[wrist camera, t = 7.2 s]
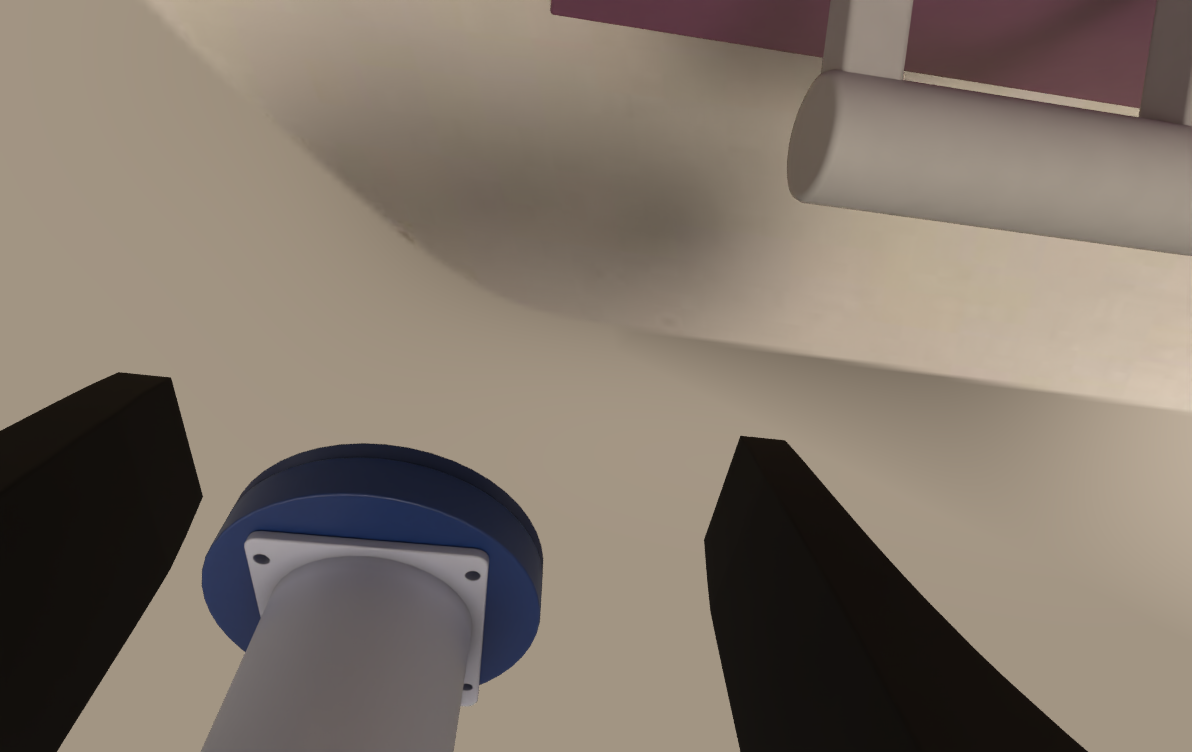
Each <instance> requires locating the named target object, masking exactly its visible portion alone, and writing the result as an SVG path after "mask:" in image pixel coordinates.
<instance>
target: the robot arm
mask: <svg viewBox="0 0 1192 752" xmlns="http://www.w3.org/2000/svg"><path fill="white" fill-rule="evenodd" d="M202 497H203V496H202V492H201V488H200V484H199V480H198V477H197V473H196V469H195V466H194V462H193V458H192V454H191V451H190V447H189V443H188V439H187V436H186V432H185V428H184V424H183V421H182V417H181V413H180V410H179V406H178V402H177V398H176V395H175V391H174V387H173V383H172V380H171V378H169V377H160V376H159V377H158V376H150V375H140V374H130V373H120V372H118V373H116V374H114V375H111V376H109V377H107V378H105V379H103V380H100V381H98V382H96V383H94V384H92V385H89V386H87V387H85V388H83V389H81V390H80V391H77V392H75V393H73V394H71V395H69V396H67V397H65V398H63V399H62V400H60V401H57V402H55V403H54V404H51V405H49V406H48V407H46V408H44V409H42V410H40V411H38V412H36V413H34V414H32V415H30V416H28V417H26V418H24V419H23V420H21V421H19V422H17V423H15V424H13V425H11V426H9V427H7V428H5V429H3V430H1V431H0V752H57V751H58V749H59V747H60V746H61V744H62V742H63V741H64V739H65V738H66V736H67V734H68V733H69V731H70V730H71V728H72V726H73V725H74V723H75V722H76V720H77V719H78V717H79V715H80V714H81V712H82V710H83V709H84V707H85V706H86V704H87V703H88V701H89V699H90V698H91V696H92V695H93V693H94V691H95V690H96V688H97V686H98V685H99V684H100V682H101V680H102V679H103V677H104V676H105V674H106V672H107V671H108V669H109V668H110V666H111V664H112V663H113V661H114V660H115V658H116V656H117V655H118V653H119V652H120V650H121V648H122V647H123V645H124V644H125V642H126V641H127V639H128V637H129V636H130V634H131V633H132V631H133V629H134V628H135V626H136V624H137V623H138V621H139V620H140V618H141V616H142V615H143V613H144V612H145V610H146V608H147V607H148V605H149V603H150V602H151V600H152V599H153V597H154V595H155V594H156V592H157V590H158V589H159V587H160V585H161V584H162V582H163V580H164V579H165V577H166V575H167V574H168V572H169V570H170V569H171V566H172V564H173V562H174V560H175V558H176V556H177V554H178V551H179V550H180V547H181V545H182V543H183V541H184V539H185V537H186V535H187V532H188V530H189V527H190V525H191V523H192V520H193V518H194V516H195V514H196V511H197V509H198V507H199V504H200V502H201V500H202ZM704 544H705V557H706V570H707V582H708V592H709V601H710V611H711V616H712V621H713V626H714V631H715V635H716V640H717V645H718V650H719V655H720V659H721V664H722V669H723V673H724V678H725V683H726V687H727V692H728V696H729V701H730V706H731V710H732V715H733V719H734V724H735V729H736V733H737V738H738V742H739V747H740V752H1088V751H1086V750H1085V749H1084V748H1083V747H1081V746H1080V745H1079V744H1078V743H1077V742H1076V741H1075V740H1074V739H1072V738H1071V737H1070V736H1069V735H1068V734H1067V733H1065V732H1064V731H1063V730H1062V729H1061V728H1060V727H1059V726H1057V724H1056V723H1054V722H1053V721H1052V720H1051V719H1050V718H1049V717H1048V716H1046V715H1045V714H1044V713H1043V712H1042V711H1041V710H1040V709H1039V708H1038V707H1037V706H1036V705H1034V704H1033V703H1032V702H1031V701H1030V700H1029V699H1028V698H1027V697H1026V696H1025V695H1023V694H1022V693H1021V692H1020V691H1019V690H1018V689H1017V688H1016V687H1015V686H1013V685H1012V684H1011V683H1010V682H1009V681H1008V680H1007V679H1006V678H1005V677H1003V676H1002V675H1001V674H1000V673H999V672H998V671H997V670H996V669H995V668H994V667H993V666H992V665H991V664H990V663H989V662H988V661H987V660H986V659H985V658H984V657H983V656H982V655H980V654H979V653H978V652H977V651H976V650H975V649H974V648H973V647H972V646H971V645H970V644H969V643H968V642H967V641H966V640H965V639H964V638H963V637H962V636H961V635H960V634H959V633H958V632H957V630H956V629H955V628H953V626H951V624H950V623H948V621H947V620H946V619H945V618H944V617H943V616H942V615H941V614H940V613H939V612H938V611H937V610H936V609H935V608H934V607H933V606H932V605H931V604H930V603H929V602H928V601H927V600H926V599H925V598H924V597H923V596H922V595H921V594H920V593H919V592H918V591H917V589H916V588H915V587H914V586H913V585H912V584H911V583H910V582H909V581H908V580H907V579H906V578H905V577H904V576H903V575H902V573H901V572H900V571H899V570H898V569H897V568H896V567H895V566H894V565H893V563H892V562H891V561H890V560H889V559H888V558H887V557H886V556H885V555H884V554H883V552H882V551H881V550H880V549H879V548H878V547H877V546H876V545H875V543H874V542H873V541H872V540H871V539H870V538H869V537H868V536H867V535H866V533H865V532H864V531H863V530H862V529H861V528H860V526H859V525H858V524H857V523H856V522H855V521H854V520H853V518H852V517H851V516H850V515H849V514H848V513H847V511H846V510H845V509H844V508H843V507H842V506H841V505H840V503H839V502H838V501H837V500H836V499H835V497H834V496H833V495H832V494H831V493H830V492H829V491H828V489H827V488H826V487H825V486H824V485H823V483H822V482H821V481H820V480H819V479H818V478H817V476H816V475H815V474H814V473H813V472H812V471H811V469H810V468H809V467H808V466H807V465H806V463H805V462H804V461H803V460H802V459H801V458H800V457H799V455H798V454H797V453H796V452H795V451H794V450H793V449H792V448H791V447H790V445H789V444H788V443H787V442H786V441H784V440H776V439H765V438H756V437H747V436H740V439H739V442H738V445H737V447H736V450H735V453H734V456H733V459H732V462H731V465H730V467H729V470H728V473H727V476H726V479H725V482H724V485H723V487H722V490H721V493H720V496H719V499H718V502H717V505H716V508H715V510H714V513H713V516H712V519H711V522H710V525H709V528H708V530H707V533H706V536H705V539H704ZM244 548H245V553H246V557H247V561H248V565H249V570H250V574H251V578H252V583H253V587H254V591H255V595H256V600H257V604H258V608H259V613H260V617H261V619H260V621H259V623H258V625H257V628H256V630H255V632H254V634H253V637H252V639H251V641H250V643H249V645H248V648H247V650H246V652H245V654H244V657H243V659H242V661H241V663H240V665H239V668H238V670H237V672H236V674H235V677H234V679H233V681H232V683H231V686H230V688H229V690H228V693H227V695H226V697H225V699H224V701H223V703H222V706H221V708H220V710H219V712H218V714H217V717H216V719H215V721H214V723H213V725H212V728H211V730H210V732H209V734H208V737H207V739H206V741H205V743H204V746H203V748H202V750H201V752H453V751H454V744H455V738H456V731H457V725H458V718H459V712H460V706H471V705H474V704H475V703H476V702H477V700H478V693H479V681H480V668H481V656H482V644H483V631H484V619H485V606H486V594H487V582H488V569H489V556H488V555H487V553H486V552H484V551H482V550H480V549H476V548H464V547H452V546H440V545H428V544H416V543H403V542H391V541H379V540H367V539H355V538H343V537H331V536H318V535H306V534H294V533H282V532H270V531H255V532H252V533H251V534H250V535H249V536H248V538H247V539H246V541H245V543H244Z"/></svg>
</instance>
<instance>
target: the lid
mask: <svg viewBox="0 0 1192 752" xmlns="http://www.w3.org/2000/svg"><path fill="white" fill-rule="evenodd" d="M550 11H551V13H552V14H553V15H559V16H565V17H572V18H578V19H584V20H590V21H597V22H603V23H609V24H615V25H622V26H628V27H634V28H640V29H647V30H653V31H659V32H665V33H672V34H678V35H684V36H690V37H697V38H703V39H709V40H715V41H722V42H728V43H734V44H740V45H747V46H753V47H759V48H765V49H772V50H778V51H784V52H790V53H797V54H803V55H809V56H815V57H822V58H823V63H822V71H821V75H819V76H818V77H817V78H816V79H815V81H814V82H813V83H812V85H811V86H810V88H809V90H808V91H807V93H806V95H805V97H804V99H803V101H802V104H801V106H800V108H799V111H798V113H797V116H796V119H795V122H794V126H793V130H792V134H791V138H790V143H789V150H788V158H787V179H788V186H789V190H790V192H791V194H792V196H793V197H794V198H795V199H797V200H798V201H800V202H802V203H809V204H816V205H824V206H831V207H838V208H845V209H853V210H860V211H867V212H874V213H882V214H889V215H896V216H903V217H911V218H918V219H925V220H932V221H940V222H947V223H954V224H961V225H969V226H976V227H983V228H990V229H998V230H1005V231H1012V232H1019V233H1027V234H1034V235H1041V236H1048V237H1056V238H1063V239H1070V240H1077V241H1085V242H1092V243H1099V244H1106V245H1114V246H1121V247H1128V248H1135V249H1143V250H1150V251H1157V252H1164V253H1172V254H1179V255H1187V256H1192V0H551V8H550ZM904 71H909V72H916V73H922V74H928V75H934V76H941V77H947V78H953V79H959V80H966V81H972V82H978V83H984V84H991V85H997V86H1003V87H1009V88H1016V89H1022V90H1028V91H1034V92H1041V93H1047V94H1053V95H1059V96H1066V97H1072V98H1078V99H1084V100H1091V101H1097V102H1103V103H1109V104H1116V105H1122V106H1128V107H1134V108H1140V112H1139V117H1132V116H1126V115H1120V114H1113V113H1107V112H1101V111H1094V110H1088V109H1082V108H1076V107H1069V106H1063V105H1057V104H1050V103H1044V102H1038V101H1031V100H1025V99H1019V98H1012V97H1006V96H1000V95H994V94H987V93H981V92H975V91H968V90H962V89H956V88H949V87H943V86H937V85H930V84H924V83H918V82H911V81H905V80H903V74H904Z"/></svg>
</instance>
